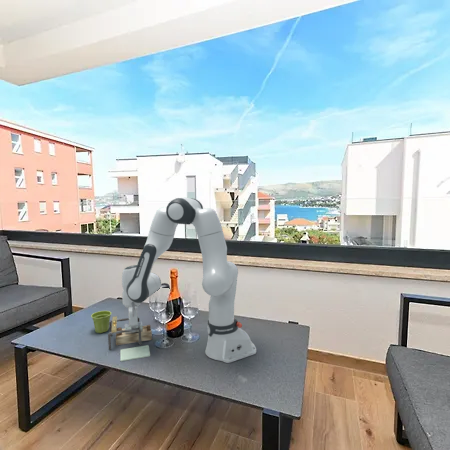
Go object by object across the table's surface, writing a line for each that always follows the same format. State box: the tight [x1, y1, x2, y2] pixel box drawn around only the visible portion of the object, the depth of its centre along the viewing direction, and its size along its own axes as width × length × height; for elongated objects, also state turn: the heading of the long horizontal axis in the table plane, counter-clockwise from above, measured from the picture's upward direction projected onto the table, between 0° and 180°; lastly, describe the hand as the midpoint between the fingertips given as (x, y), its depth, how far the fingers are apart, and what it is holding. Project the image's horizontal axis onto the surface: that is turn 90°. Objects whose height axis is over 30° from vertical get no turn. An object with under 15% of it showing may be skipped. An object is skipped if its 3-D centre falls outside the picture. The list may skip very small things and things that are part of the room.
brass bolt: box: [112, 315, 118, 333], centre depth 135 cm, size 2×15×2 cm, turn 19°
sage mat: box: [119, 344, 151, 362], centre depth 126 cm, size 12×9×1 cm
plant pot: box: [90, 310, 112, 334], centre depth 147 cm, size 9×9×9 cm
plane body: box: [107, 317, 153, 351], centre depth 138 cm, size 19×14×8 cm
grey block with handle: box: [124, 321, 143, 335], centre depth 139 cm, size 8×4×5 cm, turn 109°
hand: (133, 327), depth 139 cm, fingers open, 8 cm apart
